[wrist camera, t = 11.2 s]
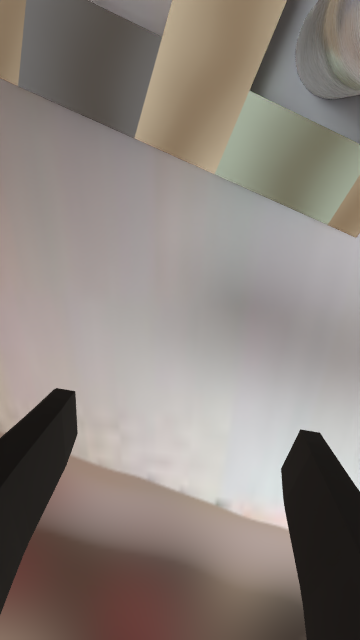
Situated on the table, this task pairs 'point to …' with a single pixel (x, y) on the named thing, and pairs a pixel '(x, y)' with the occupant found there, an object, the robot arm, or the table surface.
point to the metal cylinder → (330, 49)
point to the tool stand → (186, 94)
